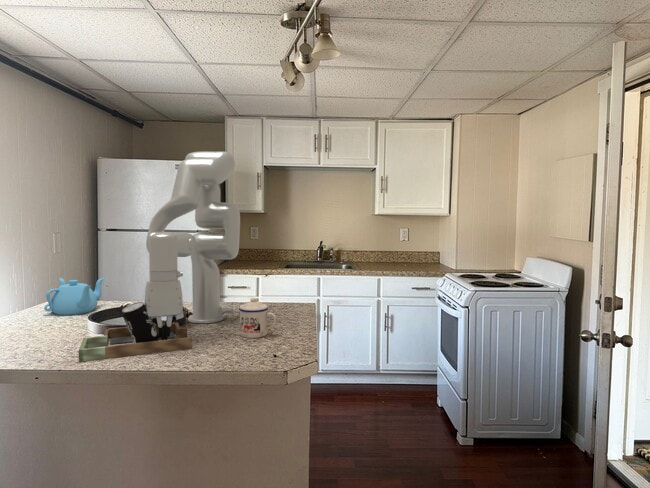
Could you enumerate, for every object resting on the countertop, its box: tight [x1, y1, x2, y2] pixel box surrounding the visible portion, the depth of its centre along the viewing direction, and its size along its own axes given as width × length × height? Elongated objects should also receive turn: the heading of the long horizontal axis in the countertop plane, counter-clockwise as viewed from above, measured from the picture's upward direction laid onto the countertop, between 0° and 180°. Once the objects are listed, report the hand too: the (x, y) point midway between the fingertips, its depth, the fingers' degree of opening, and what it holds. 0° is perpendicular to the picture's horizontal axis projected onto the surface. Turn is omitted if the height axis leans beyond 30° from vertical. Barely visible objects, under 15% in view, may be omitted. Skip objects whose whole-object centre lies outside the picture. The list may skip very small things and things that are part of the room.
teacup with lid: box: [238, 297, 277, 339], centre depth 134 cm, size 12×9×12 cm
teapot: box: [43, 277, 106, 316], centre depth 163 cm, size 17×19×12 cm
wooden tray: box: [78, 321, 193, 363], centre depth 123 cm, size 28×20×3 cm
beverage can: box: [122, 301, 159, 343], centre depth 119 cm, size 7×7×12 cm
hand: (164, 339), depth 122 cm, fingers closed
